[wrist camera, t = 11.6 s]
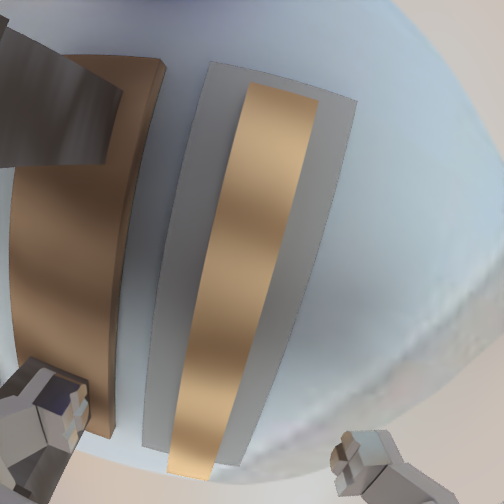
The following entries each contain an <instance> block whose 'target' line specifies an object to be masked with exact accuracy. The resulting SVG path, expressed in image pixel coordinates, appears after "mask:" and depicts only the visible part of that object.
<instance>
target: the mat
mask: <svg viewBox="0 0 504 504" xmlns="http://www.w3.org/2000/svg"><path fill="white" fill-rule="evenodd" d="M250 82H253V83H257V84H261V85H265V86H269V87H273V88H277V89H281V90H284V91H288V92H292V93H295V94H299V95H302V96H305V97H309V98H312V99H315V100H318V101H319V103H318V107H317V111H316V115H315V119H314V123H313V126H312V130H311V134H310V138H309V142H308V146H307V150H306V154H305V157H304V161H303V165H302V169H301V173H300V176H299V180H298V184H297V188H296V191H295V195H294V199H293V202H292V206H291V210H290V213H289V217H288V221H287V224H286V228H285V232H284V235H283V239H282V242H281V246H280V250H279V253H278V257H277V260H276V264H275V267H274V271H273V274H272V278H271V281H270V285H269V288H268V292H267V295H266V298H265V302H264V305H263V309H262V312H261V315H260V319H259V322H258V326H257V329H256V332H255V336H254V339H253V342H252V346H251V349H250V352H249V355H248V359H247V362H246V365H245V368H244V372H243V375H242V378H241V381H240V385H239V388H238V391H237V394H236V397H235V401H234V404H233V407H232V410H231V413H230V416H229V419H228V423H227V426H226V429H225V432H224V435H223V438H222V441H221V444H220V447H219V450H218V453H217V456H216V459H215V462H214V463H219V464H225V465H231V466H240V463H241V461H242V459H243V456H244V454H245V452H246V449H247V447H248V445H249V442H250V440H251V437H252V435H253V433H254V430H255V428H256V425H257V423H258V420H259V418H260V415H261V413H262V410H263V408H264V405H265V402H266V400H267V397H268V395H269V392H270V389H271V387H272V384H273V382H274V379H275V376H276V374H277V371H278V368H279V365H280V363H281V360H282V357H283V354H284V352H285V349H286V346H287V343H288V340H289V338H290V335H291V332H292V329H293V326H294V323H295V320H296V317H297V314H298V311H299V308H300V305H301V302H302V299H303V296H304V293H305V290H306V287H307V284H308V281H309V278H310V275H311V271H312V268H313V265H314V262H315V259H316V255H317V252H318V249H319V245H320V242H321V239H322V235H323V232H324V229H325V225H326V222H327V218H328V215H329V211H330V208H331V204H332V201H333V197H334V193H335V190H336V186H337V182H338V179H339V175H340V171H341V167H342V163H343V159H344V155H345V152H346V148H347V144H348V139H349V135H350V131H351V127H352V123H353V119H354V114H355V110H356V105H357V101H355V100H352V99H350V98H347V97H344V96H341V95H338V94H335V93H333V92H330V91H327V90H324V89H321V88H317V87H314V86H311V85H308V84H304V83H301V82H298V81H294V80H291V79H287V78H283V77H280V76H276V75H272V74H268V73H264V72H260V71H256V70H251V69H247V68H242V67H238V66H233V65H228V64H222V63H217V62H210V65H209V68H208V71H207V74H206V78H205V81H204V84H203V88H202V91H201V95H200V98H199V101H198V105H197V109H196V112H195V116H194V119H193V123H192V127H191V131H190V134H189V138H188V142H187V146H186V150H185V154H184V158H183V162H182V167H181V171H180V175H179V180H178V184H177V188H176V193H175V198H174V202H173V207H172V212H171V217H170V222H169V227H168V232H167V237H166V243H165V248H164V254H163V259H162V265H161V271H160V277H159V283H158V290H157V296H156V303H155V310H154V317H153V325H152V332H151V341H150V349H149V358H148V368H147V378H146V389H145V401H144V415H143V432H142V446H143V447H146V448H150V449H154V450H157V451H161V452H165V453H169V452H170V445H171V439H172V432H173V426H174V420H175V413H176V407H177V401H178V395H179V390H180V384H181V378H182V373H183V367H184V362H185V356H186V351H187V346H188V340H189V335H190V330H191V325H192V320H193V315H194V310H195V305H196V300H197V295H198V290H199V286H200V281H201V276H202V272H203V267H204V262H205V258H206V253H207V249H208V244H209V240H210V236H211V231H212V227H213V223H214V218H215V214H216V210H217V206H218V201H219V197H220V193H221V189H222V185H223V181H224V177H225V173H226V169H227V165H228V161H229V157H230V153H231V149H232V146H233V142H234V138H235V134H236V130H237V127H238V123H239V119H240V116H241V112H242V108H243V105H244V101H245V97H246V94H247V90H248V87H249V83H250Z"/></svg>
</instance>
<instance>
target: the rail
mask: <svg viewBox="0 0 504 504" xmlns="http://www.w3.org/2000/svg"><path fill="white" fill-rule="evenodd" d="M318 103H319V101H318V100H315V99H312V98H309V97H305V96H302V95H299V94H295V93H292V92H288V91H284V90H281V89H277V88H273V87H269V86H265V85H261V84H257V83H253V82H250V83H249V87H248V90H247V94H246V97H245V101H244V105H243V108H242V112H241V116H240V119H239V123H238V127H237V130H236V134H235V138H234V142H233V146H232V149H231V153H230V157H229V161H228V165H227V169H226V173H225V177H224V181H223V185H222V189H221V193H220V197H219V201H218V206H217V210H216V214H215V218H214V223H213V227H212V231H211V236H210V240H209V244H208V249H207V253H206V258H205V262H204V267H203V272H202V276H201V281H200V286H199V290H198V295H197V300H196V305H195V310H194V315H193V320H192V325H191V330H190V335H189V340H188V346H187V351H186V356H185V362H184V367H183V373H182V378H181V384H180V390H179V395H178V401H177V407H176V413H175V420H174V426H173V432H172V439H171V445H170V452H169V459H168V466H167V473H170V474H175V475H179V476H184V477H189V478H194V479H199V480H205V481H208V480H209V477H210V474H211V471H212V468H213V465H214V462H215V459H216V456H217V453H218V450H219V447H220V444H221V441H222V438H223V435H224V432H225V429H226V426H227V423H228V419H229V416H230V413H231V410H232V407H233V404H234V401H235V397H236V394H237V391H238V388H239V385H240V381H241V378H242V375H243V372H244V368H245V365H246V362H247V359H248V355H249V352H250V349H251V346H252V342H253V339H254V336H255V332H256V329H257V326H258V322H259V319H260V315H261V312H262V309H263V305H264V302H265V298H266V295H267V292H268V288H269V285H270V281H271V278H272V274H273V271H274V267H275V264H276V260H277V257H278V253H279V250H280V246H281V242H282V239H283V235H284V232H285V228H286V224H287V221H288V217H289V213H290V210H291V206H292V202H293V199H294V195H295V191H296V188H297V184H298V180H299V176H300V173H301V169H302V165H303V161H304V157H305V154H306V150H307V146H308V142H309V138H310V134H311V130H312V126H313V123H314V119H315V115H316V111H317V107H318Z"/></svg>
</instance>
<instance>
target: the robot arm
mask: <svg viewBox="0 0 504 504" xmlns="http://www.w3.org/2000/svg"><path fill="white" fill-rule="evenodd" d="M86 394H87V388H86V385H85V384H83V383H81V382H78V381H76V380H73V379H71V378H68V377H66V376H63V375H61V374H59V373H56V372H53V371H51V370H49V369H47V368H42V369H40V370H39V371H38V372H37V373H36V375H35V376H34V377H33V378H32V379H31V381H30V382H29V383H28V384H27V386H26V387H25V388H24V389H23V391H22V392H21V393H20V394H19V396H18V397H17V396H15V395H13V396H10V397H6V398H3V399H0V504H37V503H35V502H33V501H31V500H29V499H27V498H26V497H24V496H22V495H20V494H18V493H16V492H15V491H13V489H14V487H15V485H16V483H15V480H14V479H13V477H12V475H11V474H10V472H9V470H8V467H10V466H12V465H13V464H15V463H17V462H19V461H21V460H23V459H24V458H26V457H28V456H30V455H31V454H33V453H35V452H37V451H39V450H40V449H42V448H44V447H46V446H47V444H48V445H51V446H53V447H56V448H58V449H60V450H63V451H66V452H68V453H72V451H73V449H74V447H75V445H76V443H77V441H78V435H77V432H79V431H81V430H83V429H84V427H85V425H86V422H87V418H88V414H89V405H88V402H87V401H86V399H85V396H86ZM341 441H342V443H340V444H339V445H337V446H335V448H334V450H333V451H332V453H331V458H330V467H331V471H332V472H333V473H334V474H335V475H336V476H337V478H336V480H335V481H334V482H335V486H336V490H337V493H338V496H339V497H340V496H358V495H361V497H362V498H363V499H364V500H365V501H366V502H367V503H368V504H459V502H458V501H457V499H456V497H455V495H454V493H452V492H451V491H449V490H448V489H446V488H445V487H443V486H441V485H440V484H438V483H437V482H435V481H434V480H433V479H431V478H430V477H428V476H427V475H425V474H424V473H422V472H421V471H419V470H418V469H416V468H415V467H413V466H412V465H411V464H409V463H404V461H403V459H402V456H401V455H400V452H399V450H398V448H397V446H396V444H395V442H394V440H393V438H392V436H391V434H390V432H389V431H387V430H374V431H372V430H367V431H346V432H345V433H344V434H343V435H342V437H341ZM499 504H504V501H503V502H501V503H499Z"/></svg>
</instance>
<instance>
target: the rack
mask: <svg viewBox="0 0 504 504" xmlns="http://www.w3.org/2000/svg"><path fill="white" fill-rule="evenodd" d="M8 22H9V19H7V18H5V17H4V16H2V15H0V168H9V167H15V174H14V182H13V191H12V201H11V213H10V231H9V281H10V299H11V312H12V322H13V331H14V339H15V346H16V352H17V358H18V364H19V369H18V370H17V371H16V372H15V373H14V374H13V375H12V376H11V377H10V378H9V379H8V380H7V382H6V383H5V384H4V385H3V386H2V387H1V388H0V399H3V398H6V397H10V396H13V395H15V396H17V397H18V396H19V394H20V393H21V392H22V391H23V389H24V388H25V387H26V386H27V384H28V383H29V382H30V381H31V379H32V378H33V377H34V376H35V375H36V373H37V372H38V371H39V370H40V369H42V368H47V369H49V370H51V371H53V372H56V373H59V374H61V375H63V376H66V377H68V378H71V379H73V380H76V381H78V382H81V383H83V384H85V385H86V388H87V394H86V396H85V399H86V401H87V402H88V405H89V414H88V418H87V422H86V425H85V427H84V429H83V430H81V431H79V432H77V435H78V441H77V443H76V445H75V447H74V449H73V451H74V450H75V448H76V446H77V444H78V442H79V440H80V438H81V436H82V434H83V432H84V430H86V431H88V432H91V433H93V434H96V435H99V436H102V437H105V438H107V439H110V438H111V436H112V434H113V431H114V429H115V357H116V336H117V321H118V308H119V297H120V287H121V278H122V269H123V261H124V254H125V246H126V239H127V233H128V227H129V220H130V214H131V209H132V203H133V198H134V193H135V187H136V182H137V178H138V173H139V168H140V164H141V159H142V155H143V150H144V146H145V142H146V138H147V134H148V130H149V126H150V122H151V118H152V115H153V111H154V107H155V104H156V100H157V97H158V93H159V90H160V87H161V84H162V80H163V77H164V74H165V71H166V68H167V67H166V66H165V65H164V63H163V62H162V61H161V60H160V59H156V58H146V57H133V56H117V55H61V54H59V53H57V52H55V51H53V50H51V49H49V48H48V47H46V46H44V45H42V44H40V43H38V42H36V41H34V40H32V39H30V38H29V37H27V36H25V35H23V34H21V33H19V32H17V31H15V30H13V29H11V28H9V27H7V24H8ZM73 451H72V453H73ZM72 453H68V452H66V451H63V450H60V449H58V448H56V447H53V446H51V445H48V444H47V446H46V447H44V448H42V449H40V450H39V451H37V452H35V453H33V454H31V455H30V456H28V457H26V458H24V459H23V460H21V461H19V462H17V463H15V464H13V465H12V466H10V467H8V470H9V472H10V474H11V475H12V477H13V479H14V480H15V483H16V485H15V487H14V489H13V491H15V492H16V493H18V494H20V495H22V496H24V497H26V498H27V499H29V500H31V501H33V502H35V503H37V504H48V503H49V501H50V499H51V497H52V494H53V492H54V490H55V488H56V486H57V484H58V482H59V480H60V477H61V475H62V474H63V472H64V469H65V467H66V465H67V463H68V461H69V459H70V457H71V455H72Z"/></svg>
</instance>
